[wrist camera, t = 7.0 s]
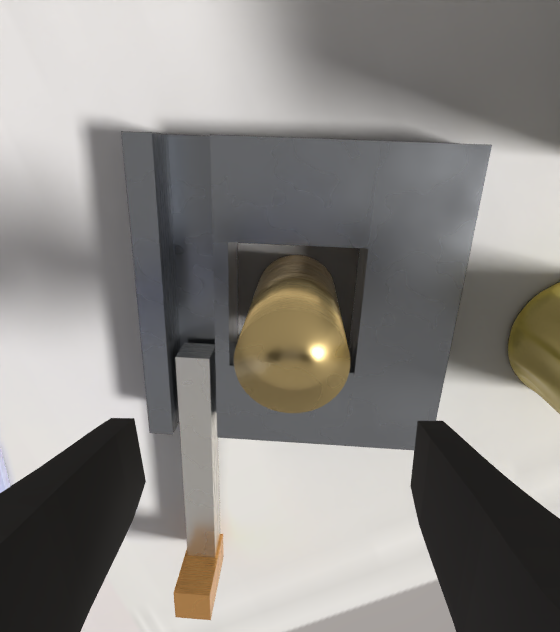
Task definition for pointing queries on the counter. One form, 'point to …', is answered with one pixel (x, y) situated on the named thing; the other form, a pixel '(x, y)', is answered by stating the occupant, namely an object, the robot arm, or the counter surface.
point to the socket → (306, 230)
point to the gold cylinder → (293, 338)
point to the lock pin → (199, 481)
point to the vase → (538, 345)
